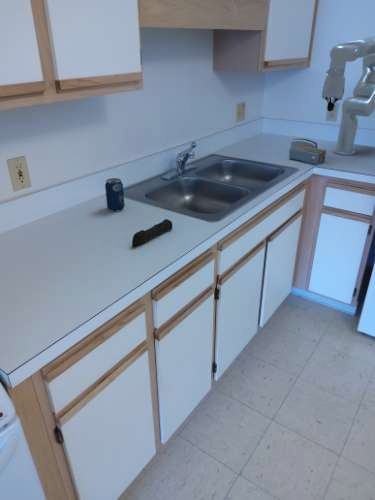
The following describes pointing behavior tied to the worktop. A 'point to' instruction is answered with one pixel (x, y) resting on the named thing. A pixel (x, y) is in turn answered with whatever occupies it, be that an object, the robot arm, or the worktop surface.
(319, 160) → the cabinet
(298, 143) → the grey arched panel
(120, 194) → the soda can
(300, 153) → the door
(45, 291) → the worktop surface
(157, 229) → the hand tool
